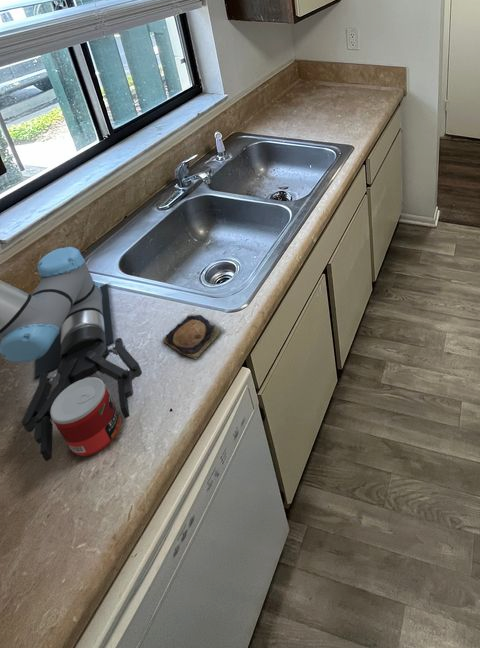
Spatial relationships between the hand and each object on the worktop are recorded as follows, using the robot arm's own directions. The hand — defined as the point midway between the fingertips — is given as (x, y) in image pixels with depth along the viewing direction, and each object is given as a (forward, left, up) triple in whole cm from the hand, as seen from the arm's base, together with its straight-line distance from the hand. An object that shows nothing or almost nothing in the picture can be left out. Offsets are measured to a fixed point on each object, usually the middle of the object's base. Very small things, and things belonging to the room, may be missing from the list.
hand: (87, 433), depth 75 cm
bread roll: (+19, +15, -7) cm, 25 cm away
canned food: (0, +4, -7) cm, 8 cm away
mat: (-3, +34, -7) cm, 35 cm away
